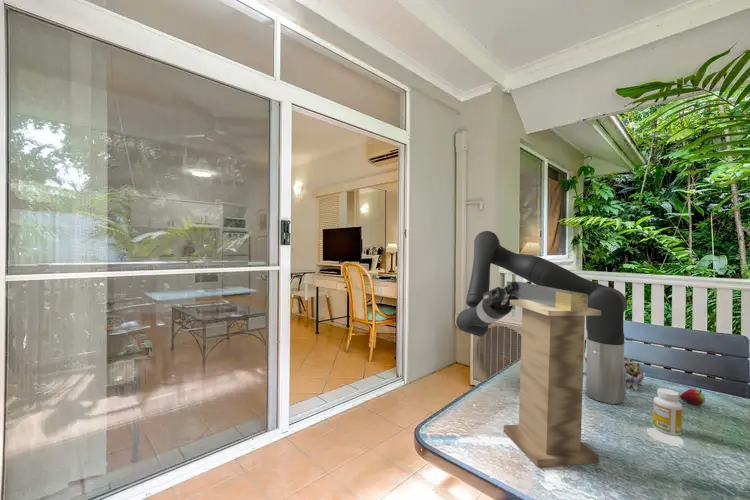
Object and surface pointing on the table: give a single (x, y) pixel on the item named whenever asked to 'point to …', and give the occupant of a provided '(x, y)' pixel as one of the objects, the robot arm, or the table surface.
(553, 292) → the steel block
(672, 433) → the supplement bottle
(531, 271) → the robot arm
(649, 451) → the table surface
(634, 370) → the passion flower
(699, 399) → the fruit
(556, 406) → the walnut stand
